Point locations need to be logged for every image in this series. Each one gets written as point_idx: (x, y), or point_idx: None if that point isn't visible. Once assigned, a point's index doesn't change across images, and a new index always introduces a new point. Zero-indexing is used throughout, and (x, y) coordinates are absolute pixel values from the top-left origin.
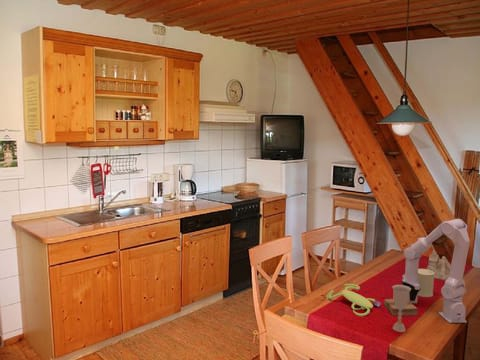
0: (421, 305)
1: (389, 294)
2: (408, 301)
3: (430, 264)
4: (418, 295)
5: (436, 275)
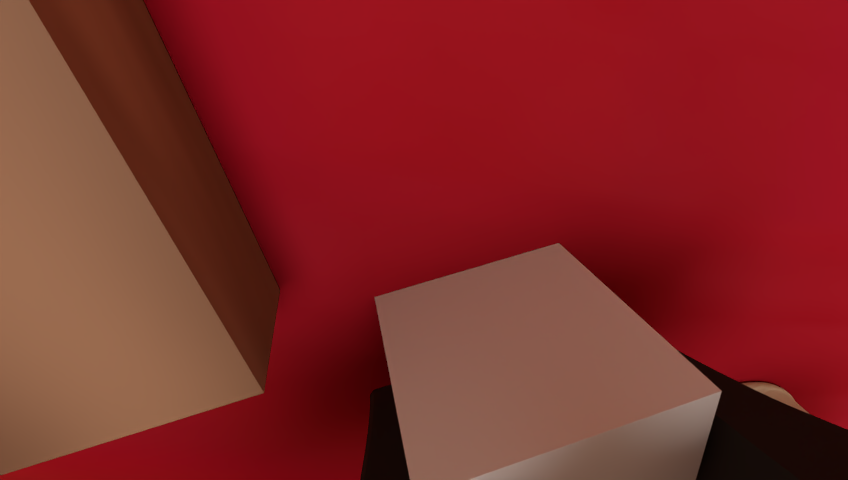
0: (339, 464)
1: (790, 11)
2: (58, 427)
3: None
4: None
5: None
